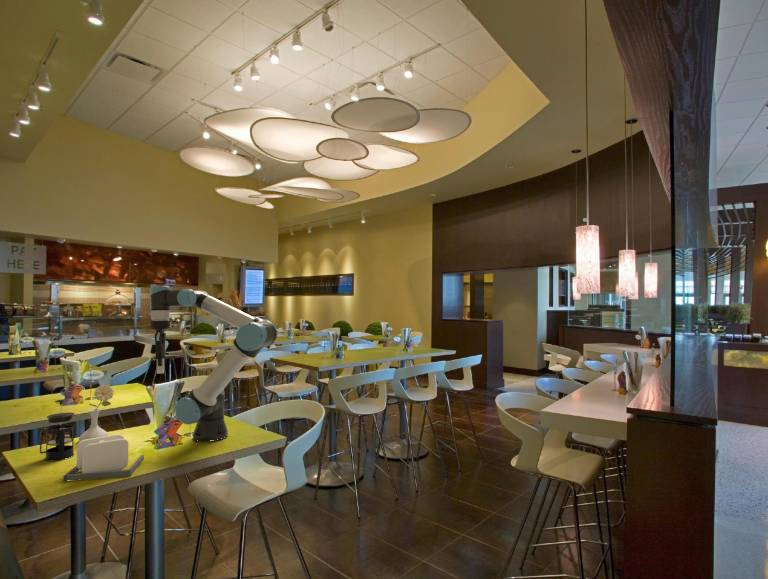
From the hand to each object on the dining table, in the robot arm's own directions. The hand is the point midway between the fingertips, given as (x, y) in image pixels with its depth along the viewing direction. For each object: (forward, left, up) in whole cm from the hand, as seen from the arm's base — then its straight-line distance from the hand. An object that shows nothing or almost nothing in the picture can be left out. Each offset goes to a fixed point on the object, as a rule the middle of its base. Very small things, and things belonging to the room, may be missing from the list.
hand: (160, 373), depth 195 cm
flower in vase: (+29, -14, -32) cm, 45 cm away
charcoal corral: (+11, +28, -31) cm, 44 cm away
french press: (+35, +8, -32) cm, 48 cm away
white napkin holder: (+13, +29, -32) cm, 45 cm away
